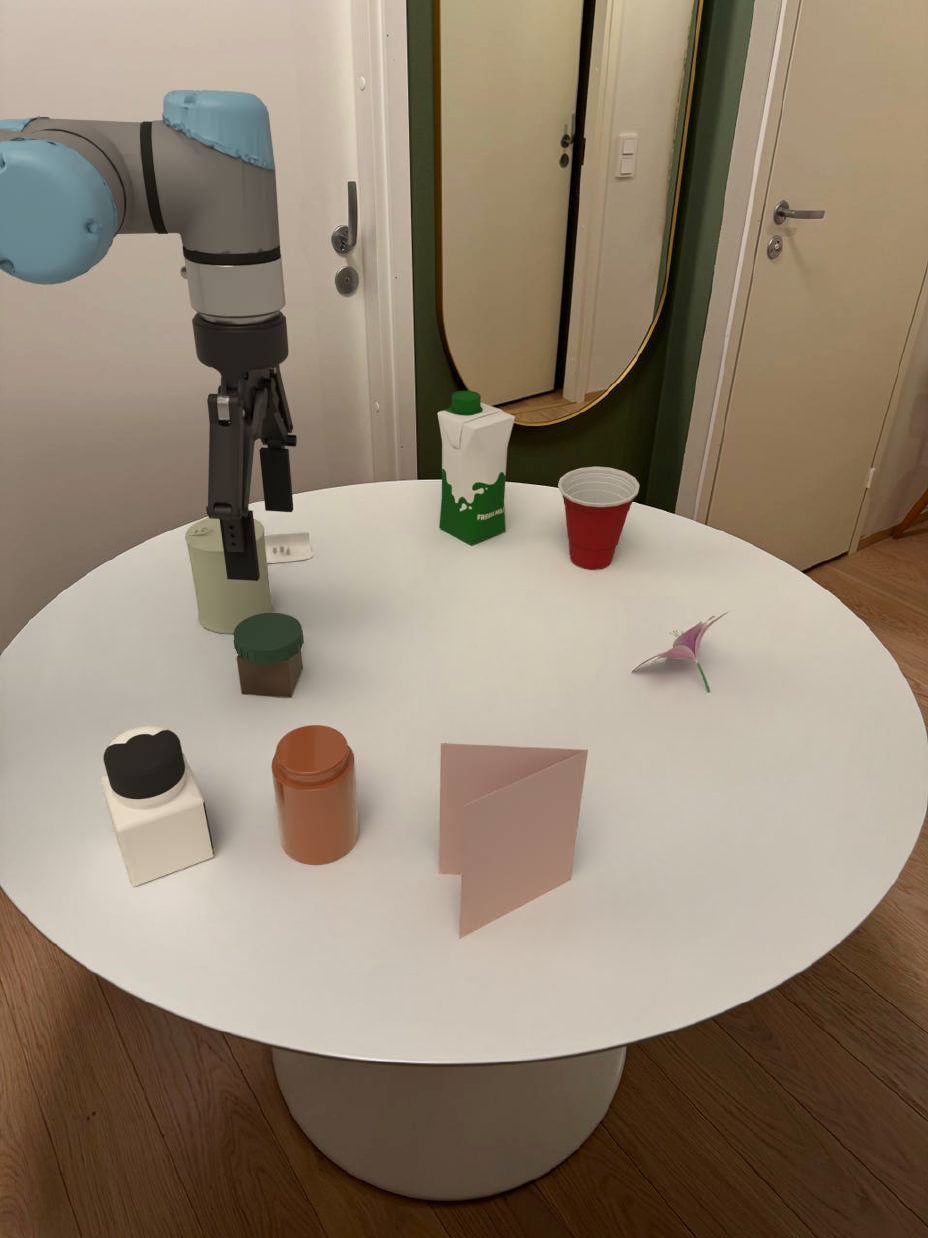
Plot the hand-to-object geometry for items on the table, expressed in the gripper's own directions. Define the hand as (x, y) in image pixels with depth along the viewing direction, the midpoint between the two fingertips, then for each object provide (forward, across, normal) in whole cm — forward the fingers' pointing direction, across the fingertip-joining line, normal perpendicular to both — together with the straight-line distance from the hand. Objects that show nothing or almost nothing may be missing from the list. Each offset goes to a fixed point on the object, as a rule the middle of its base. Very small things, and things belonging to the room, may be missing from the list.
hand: (262, 542), depth 83 cm
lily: (+20, -10, +44) cm, 50 cm away
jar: (+20, +17, +8) cm, 28 cm away
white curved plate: (+21, -33, -7) cm, 40 cm away
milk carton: (+20, -44, +19) cm, 52 cm away
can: (+21, -18, -10) cm, 29 cm away
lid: (+14, -5, -2) cm, 15 cm away
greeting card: (+20, +24, +25) cm, 40 cm away
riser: (+20, -5, -2) cm, 21 cm away
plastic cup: (+20, -36, +36) cm, 55 cm away
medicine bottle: (+21, +20, -6) cm, 29 cm away
